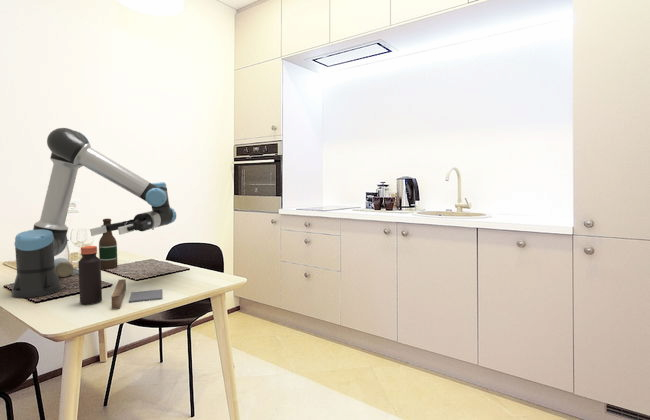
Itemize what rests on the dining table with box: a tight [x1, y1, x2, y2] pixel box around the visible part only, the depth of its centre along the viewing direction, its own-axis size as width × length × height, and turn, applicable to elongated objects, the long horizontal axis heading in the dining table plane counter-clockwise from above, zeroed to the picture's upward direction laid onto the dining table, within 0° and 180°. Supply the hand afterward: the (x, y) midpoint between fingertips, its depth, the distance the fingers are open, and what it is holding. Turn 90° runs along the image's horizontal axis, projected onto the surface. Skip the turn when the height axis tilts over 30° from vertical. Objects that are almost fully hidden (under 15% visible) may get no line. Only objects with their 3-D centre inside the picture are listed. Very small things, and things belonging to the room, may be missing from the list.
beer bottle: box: [98, 218, 118, 270], centre depth 184 cm, size 8×8×24 cm
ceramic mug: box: [54, 257, 79, 278], centre depth 170 cm, size 11×8×8 cm
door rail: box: [111, 278, 127, 310], centre depth 140 cm, size 2×22×4 cm, turn 23°
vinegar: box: [77, 245, 103, 306], centre depth 135 cm, size 7×7×20 cm
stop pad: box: [128, 289, 163, 304], centre depth 143 cm, size 11×11×1 cm
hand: (105, 231), depth 143 cm, fingers open, 13 cm apart
